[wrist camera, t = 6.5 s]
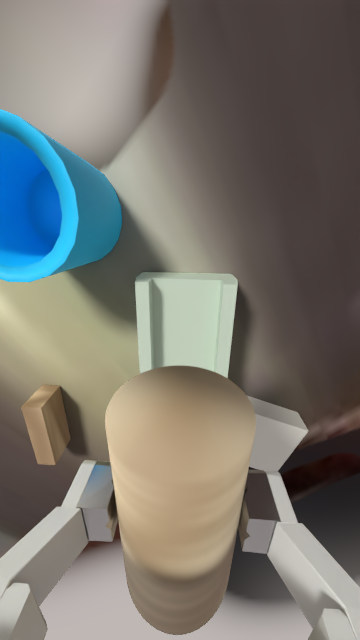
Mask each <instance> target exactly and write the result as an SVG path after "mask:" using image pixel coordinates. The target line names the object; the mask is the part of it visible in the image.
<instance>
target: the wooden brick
mask: <svg viewBox="0 0 360 640" xmlns="http://www.w3.org/2000/svg"><path fill="white" fill-rule="evenodd" d="M21 408H22V411H23V415H24V418H25V422H26V425H27V428H28V432H29V435H30V439H31V442H32V445H33V449H34V452H35V456H36V459H37V462H38V464H47V465H56V463H57V462H58V460H59V458H60V456H61V455H62V453H63V451H64V450H65V448H66V446H67V444H68V443H69V441H70V439H71V437H70V432H69V427H68V422H67V418H66V413H65V408H64V403H63V399H62V394H61V389H60V386H54V385H42V386H41V387H40V388H39V389H38V390H37V391H36V392H35V393H34V394H33V395H32V396H31V397H30V398H29V400H28V401H27V402H26V403H25V404H24V405H23V406H22V407H21Z"/></svg>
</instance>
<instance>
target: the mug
mask: <svg viewBox="0 0 360 640" xmlns="http://www.w3.org/2000/svg"><path fill="white" fill-rule="evenodd" d="M121 227H122V214H121V205H120V203H119V200H118V197H117V194H116V192H115V189H114V188H113V187H112V185H111V184H110V182H109V181H108V180H107V178H106V177H105V175H104V174H102V173H101V172H100V171H99V170H97V169H96V168H95V167H94V166H92V165H91V164H89V163H88V162H87V161H85V160H83V159H82V158H81V157H79V156H78V155H76V154H74V153H73V152H72V151H70V150H68V149H67V148H66V147H64V146H63V145H61V144H60V143H58V142H56V141H55V140H54V139H52V138H51V137H49V136H47V135H46V134H44V133H43V132H41V131H40V130H38V129H37V128H35V127H34V126H32V125H31V124H29V123H28V122H26V121H25V120H23V119H22V118H20V117H19V116H17V115H14V114H12V113H9V112H7V111H4V110H1V109H0V279H2V280H5V281H8V282H31V281H35V280H38V279H41V278H44V277H47V276H50V275H54V274H57V273H60V272H63V271H66V270H69V269H72V268H76V267H79V266H82V265H85V264H88V263H91V262H94V261H97V260H100V259H102V258H103V257H104V256H106V255H107V254H108V253H109V252H110V251H112V249H113V247H114V246H115V244H116V242H117V241H118V239H119V235H120V231H121Z"/></svg>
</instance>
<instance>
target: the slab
mask: <svg viewBox="0 0 360 640" xmlns="http://www.w3.org/2000/svg"><path fill="white" fill-rule="evenodd" d="M247 397H248V398H249V400H250V402H251V404H252V406H253V408H254V412H255V416H256V429H255V436H254V441H253V447H252V452H251V458H250V463H249V467H252V468H255V469H259V470H264V471H277V472H278V470H279V469H280V468H281V466H282V465H283V464H284V462H285V461H286V460H287V459H288V457H289V456H290V455H291V453H292V452H293V451H294V449H295V448H296V447H297V445H298V444H299V443H300V442H301V440H302V439H303V438H304V436H305V435H306V434H307V432H308V429H307V428H306V426H305V424H304V422H303V421H302V419H301V417H300V416H299V414H298V412H295V411H292V410H289V409H286V408H283V407H280V406H277V405H274V404H271V403H268V402H265V401H262V400H259V399H256V398H253V397H250V396H247Z"/></svg>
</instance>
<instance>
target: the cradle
mask: <svg viewBox="0 0 360 640" xmlns="http://www.w3.org/2000/svg"><path fill="white" fill-rule="evenodd" d="M135 280H136V282H135V294H136V312H137V330H138V348H139V366H140V374H141V373H143V372H146V371H148V370H151V369H155V368H159V367H165V366H176V365H178V366H193V367H199V368H204V369H207V370H210V371H213V372H216V373H218V374H220V375H222V376H224V377H226V378H228V369H229V360H230V351H231V341H232V332H233V323H234V314H235V304H236V295H237V286H238V285H237V284H238V280H237V279H236V278H235V277H234V276H233V275H232V274H217V273H175V272H142V273H141V274H140V275H138V276H137V277H136V278H135Z"/></svg>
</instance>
